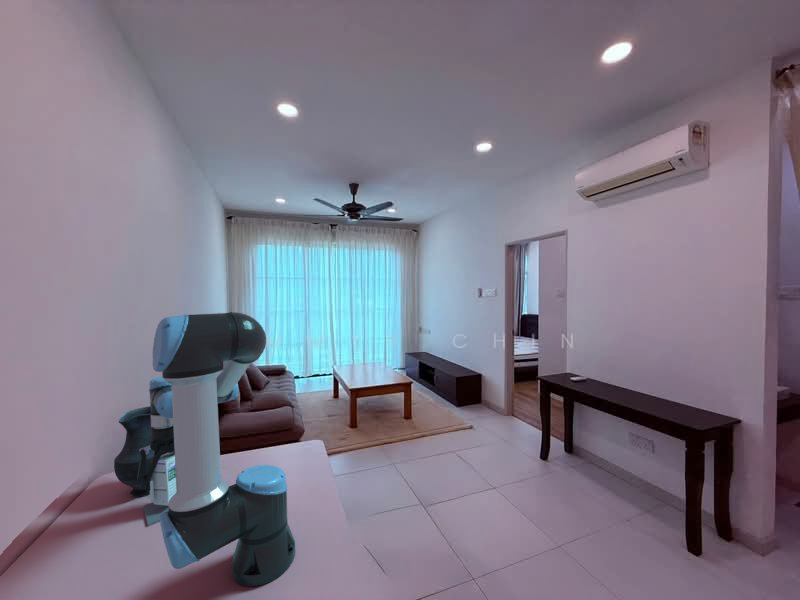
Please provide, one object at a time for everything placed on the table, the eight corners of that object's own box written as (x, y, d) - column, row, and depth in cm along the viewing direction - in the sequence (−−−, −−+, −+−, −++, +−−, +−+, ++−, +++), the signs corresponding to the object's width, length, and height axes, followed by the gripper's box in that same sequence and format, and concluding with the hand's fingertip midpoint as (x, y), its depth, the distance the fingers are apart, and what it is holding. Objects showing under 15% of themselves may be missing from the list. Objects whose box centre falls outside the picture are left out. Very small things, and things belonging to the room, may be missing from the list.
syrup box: (168, 506, 100) (166, 461, 100) (152, 504, 101) (150, 460, 100) (183, 494, 106) (182, 452, 105) (168, 493, 106) (166, 451, 106)
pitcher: (102, 501, 107) (98, 414, 106) (159, 468, 127) (156, 394, 126) (145, 506, 104) (141, 416, 103) (196, 471, 124) (193, 396, 123)
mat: (194, 506, 103) (194, 504, 103) (147, 526, 95) (147, 524, 95) (186, 490, 112) (186, 489, 112) (143, 507, 103) (143, 505, 103)
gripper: (199, 412, 112) (201, 475, 113) (122, 431, 98) (125, 503, 99) (204, 418, 107) (207, 484, 108) (124, 438, 93) (127, 514, 93)
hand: (168, 493), depth 103 cm, fingers closed on syrup box, 8 cm apart
